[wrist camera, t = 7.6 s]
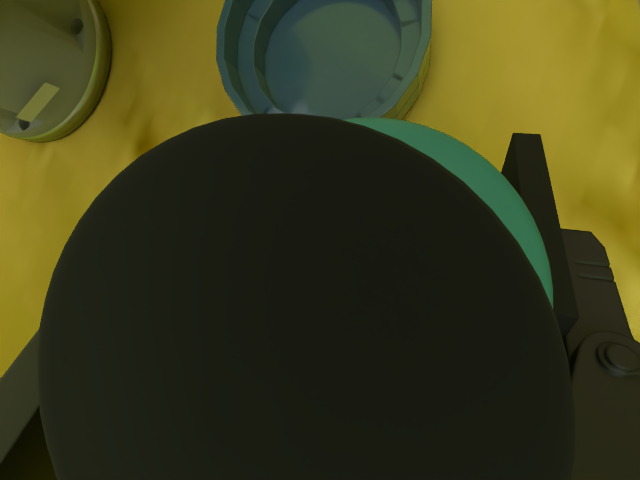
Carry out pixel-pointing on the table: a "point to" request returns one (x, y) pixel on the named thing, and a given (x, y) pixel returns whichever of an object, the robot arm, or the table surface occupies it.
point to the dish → (324, 56)
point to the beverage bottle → (305, 314)
